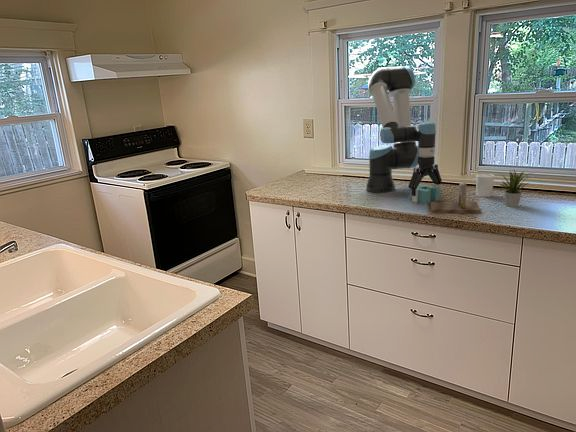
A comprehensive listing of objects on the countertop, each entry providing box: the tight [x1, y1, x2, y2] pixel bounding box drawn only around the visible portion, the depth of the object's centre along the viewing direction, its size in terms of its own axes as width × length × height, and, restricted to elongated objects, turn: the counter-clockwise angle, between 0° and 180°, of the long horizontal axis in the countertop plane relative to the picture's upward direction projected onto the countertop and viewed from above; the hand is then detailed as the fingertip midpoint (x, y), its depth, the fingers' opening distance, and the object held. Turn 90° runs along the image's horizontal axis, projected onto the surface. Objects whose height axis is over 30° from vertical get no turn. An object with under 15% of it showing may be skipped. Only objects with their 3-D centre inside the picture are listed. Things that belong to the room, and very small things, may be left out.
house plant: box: [498, 169, 534, 208], centre depth 191 cm, size 14×14×16 cm
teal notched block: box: [409, 184, 442, 205], centre depth 210 cm, size 10×10×6 cm
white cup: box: [475, 173, 495, 198], centre depth 211 cm, size 8×8×10 cm
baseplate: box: [429, 182, 482, 214], centre depth 192 cm, size 20×13×12 cm, turn 76°
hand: (424, 199), depth 211 cm, fingers open, 13 cm apart
